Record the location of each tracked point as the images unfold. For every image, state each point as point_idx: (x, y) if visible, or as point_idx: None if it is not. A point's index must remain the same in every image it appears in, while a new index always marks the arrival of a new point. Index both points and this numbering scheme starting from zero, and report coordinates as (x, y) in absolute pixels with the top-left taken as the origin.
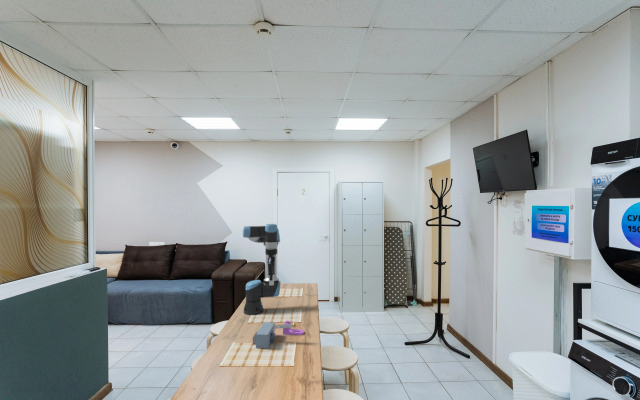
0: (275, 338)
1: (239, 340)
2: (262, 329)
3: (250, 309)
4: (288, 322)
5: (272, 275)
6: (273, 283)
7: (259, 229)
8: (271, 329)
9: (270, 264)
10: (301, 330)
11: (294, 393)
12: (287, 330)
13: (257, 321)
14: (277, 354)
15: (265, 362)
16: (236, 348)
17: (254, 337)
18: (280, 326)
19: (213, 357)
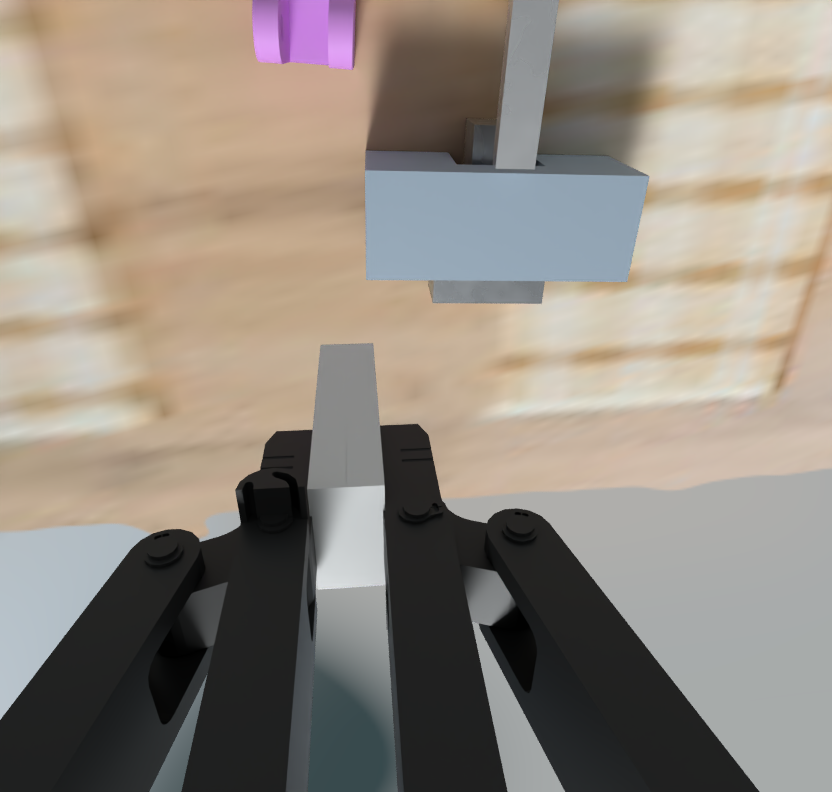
0: (479, 120)
1: (467, 387)
2: (531, 251)
3: None
4: (279, 10)
5: (384, 500)
6: (360, 360)
7: None
8: (499, 170)
9: None
10: None
11: None
12: (354, 14)
13: (112, 359)
14: (723, 50)
15: (817, 125)
16: (581, 371)
17: (541, 291)
18: (548, 68)
19: (672, 452)
